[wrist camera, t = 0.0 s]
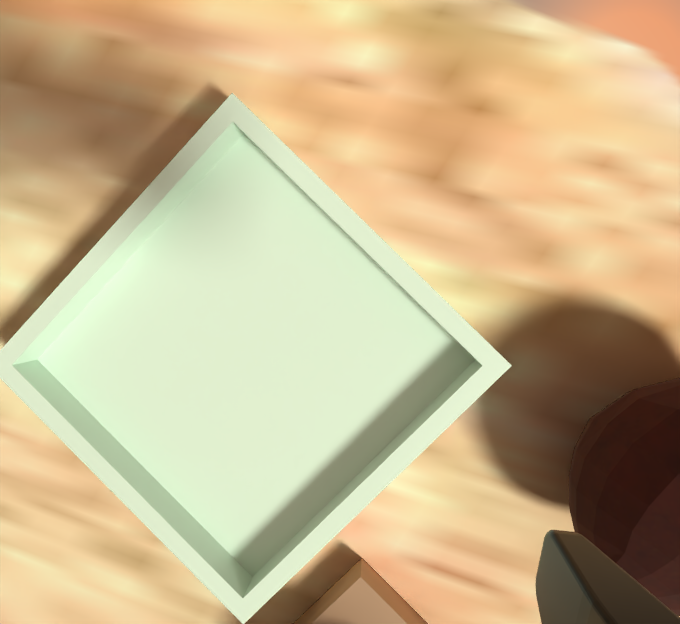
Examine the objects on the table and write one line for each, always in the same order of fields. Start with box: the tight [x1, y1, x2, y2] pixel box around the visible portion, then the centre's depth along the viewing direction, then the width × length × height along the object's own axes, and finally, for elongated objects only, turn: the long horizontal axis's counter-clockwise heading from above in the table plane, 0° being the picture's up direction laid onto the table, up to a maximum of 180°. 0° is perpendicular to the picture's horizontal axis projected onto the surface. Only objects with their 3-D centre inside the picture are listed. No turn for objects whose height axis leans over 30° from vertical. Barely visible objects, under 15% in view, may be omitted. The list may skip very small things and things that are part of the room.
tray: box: [0, 93, 512, 624], centre depth 22 cm, size 16×16×2 cm
